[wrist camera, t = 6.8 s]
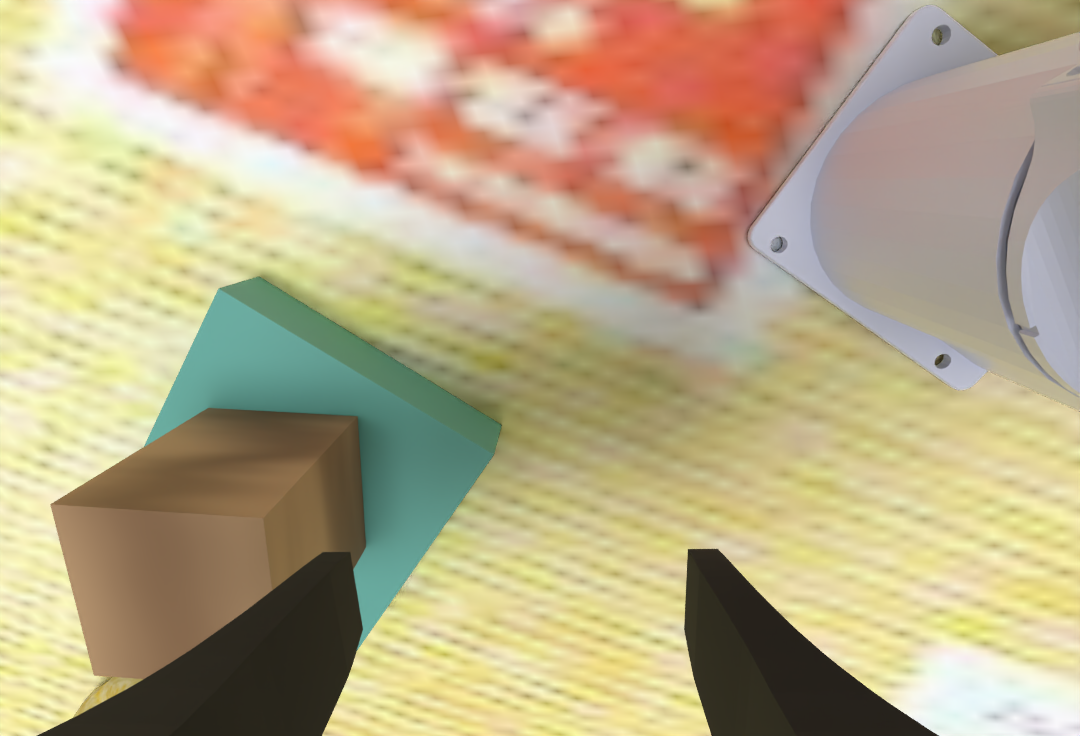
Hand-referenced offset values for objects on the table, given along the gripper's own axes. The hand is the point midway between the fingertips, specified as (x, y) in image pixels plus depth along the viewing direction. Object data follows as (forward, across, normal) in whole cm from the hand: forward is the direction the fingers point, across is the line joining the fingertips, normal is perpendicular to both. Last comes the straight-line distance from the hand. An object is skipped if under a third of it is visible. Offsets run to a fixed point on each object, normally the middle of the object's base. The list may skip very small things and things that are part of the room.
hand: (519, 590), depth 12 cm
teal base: (+10, +8, +2) cm, 13 cm away
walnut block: (+7, +8, +1) cm, 11 cm away
